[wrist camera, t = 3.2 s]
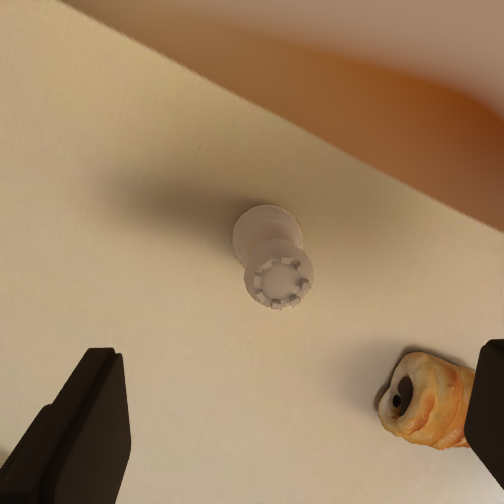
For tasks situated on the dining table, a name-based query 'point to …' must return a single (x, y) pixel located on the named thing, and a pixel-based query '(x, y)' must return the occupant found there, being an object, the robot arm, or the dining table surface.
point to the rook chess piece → (272, 256)
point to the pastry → (428, 401)
